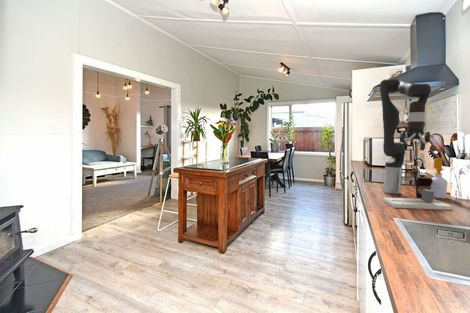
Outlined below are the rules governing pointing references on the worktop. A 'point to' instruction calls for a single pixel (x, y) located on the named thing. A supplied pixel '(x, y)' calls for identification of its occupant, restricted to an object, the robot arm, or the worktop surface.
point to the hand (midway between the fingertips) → (413, 150)
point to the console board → (416, 203)
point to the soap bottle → (439, 180)
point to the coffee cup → (422, 185)
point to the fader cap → (427, 195)
